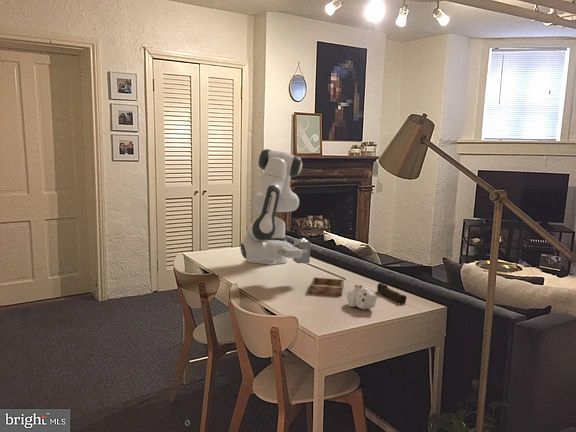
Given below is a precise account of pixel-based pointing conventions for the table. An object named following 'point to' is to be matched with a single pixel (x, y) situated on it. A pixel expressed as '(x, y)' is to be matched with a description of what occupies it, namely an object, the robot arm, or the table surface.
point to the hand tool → (391, 293)
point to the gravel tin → (303, 244)
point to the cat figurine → (361, 298)
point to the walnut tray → (327, 286)
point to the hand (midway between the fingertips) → (303, 249)
